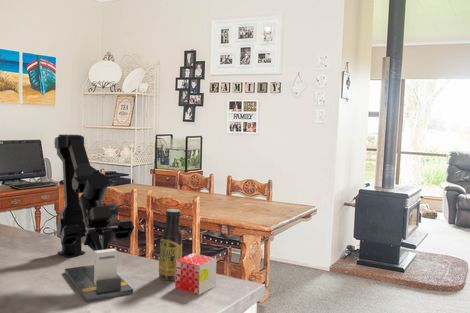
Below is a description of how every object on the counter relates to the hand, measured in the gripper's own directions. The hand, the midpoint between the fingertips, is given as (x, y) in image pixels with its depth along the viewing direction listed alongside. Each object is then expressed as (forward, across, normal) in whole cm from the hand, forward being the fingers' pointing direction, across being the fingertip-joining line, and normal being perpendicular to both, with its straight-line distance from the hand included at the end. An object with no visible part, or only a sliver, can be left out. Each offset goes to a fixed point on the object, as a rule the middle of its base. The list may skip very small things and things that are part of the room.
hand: (104, 259), depth 124 cm
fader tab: (+6, 0, +4) cm, 7 cm away
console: (+1, 0, +10) cm, 10 cm away
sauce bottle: (+5, +19, +6) cm, 21 cm away
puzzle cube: (+12, +23, 0) cm, 26 cm away
